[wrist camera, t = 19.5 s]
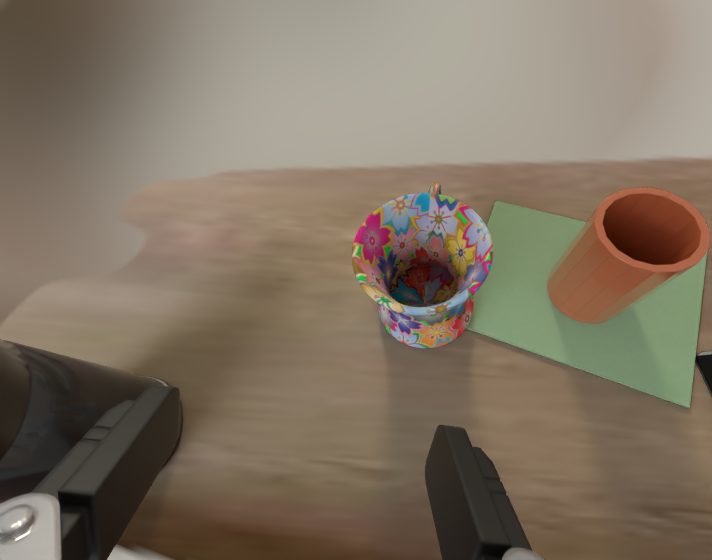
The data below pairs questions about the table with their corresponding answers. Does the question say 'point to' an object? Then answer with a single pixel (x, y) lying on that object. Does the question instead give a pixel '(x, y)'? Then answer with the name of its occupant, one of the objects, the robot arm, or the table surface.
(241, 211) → the table surface
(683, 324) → the placemat
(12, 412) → the robot arm
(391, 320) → the mug
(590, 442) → the table surface
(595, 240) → the pot
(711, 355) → the black stand
